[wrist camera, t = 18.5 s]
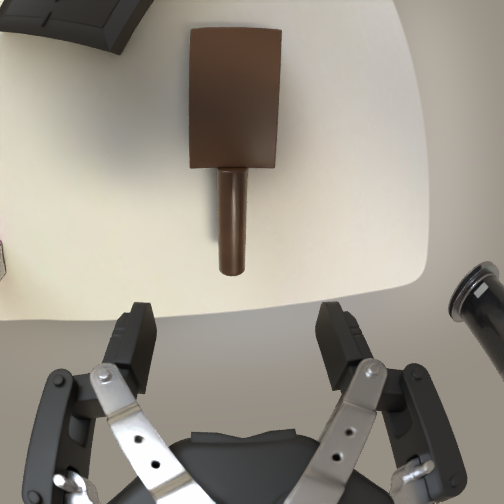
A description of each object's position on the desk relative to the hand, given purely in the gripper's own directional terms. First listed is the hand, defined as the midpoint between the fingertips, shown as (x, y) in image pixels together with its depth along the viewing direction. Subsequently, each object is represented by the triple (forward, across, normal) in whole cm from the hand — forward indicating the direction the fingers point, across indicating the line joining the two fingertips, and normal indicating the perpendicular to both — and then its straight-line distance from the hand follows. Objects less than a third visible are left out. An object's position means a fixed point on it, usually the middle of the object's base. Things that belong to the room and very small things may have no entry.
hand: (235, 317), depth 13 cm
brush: (+12, 0, -6) cm, 13 cm away
